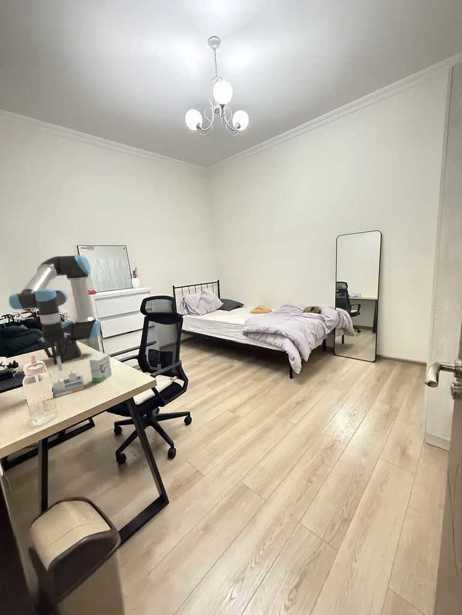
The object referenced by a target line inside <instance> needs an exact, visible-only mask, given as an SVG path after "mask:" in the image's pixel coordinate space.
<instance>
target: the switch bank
mask: <svg viewBox="0 0 462 615" xmlns="http://www.w3.org/2000/svg"><path fill="white" fill-rule="evenodd" d="M76 377H77V381H73V382H70V380H69V378H66V379H63V380H64V385H65V389H64V390H60V391H57V389H56V384H55V382H54V381H53V390H52V391H53V392H52V393H53V398H54V397H55V398H57V397H58V398H59V397H61V396H65V395H67V394H72V393H75V392H79V391H83V390H85V389H86V386H85V381H84V378H83V375H78V376H77V375H76Z"/></svg>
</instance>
